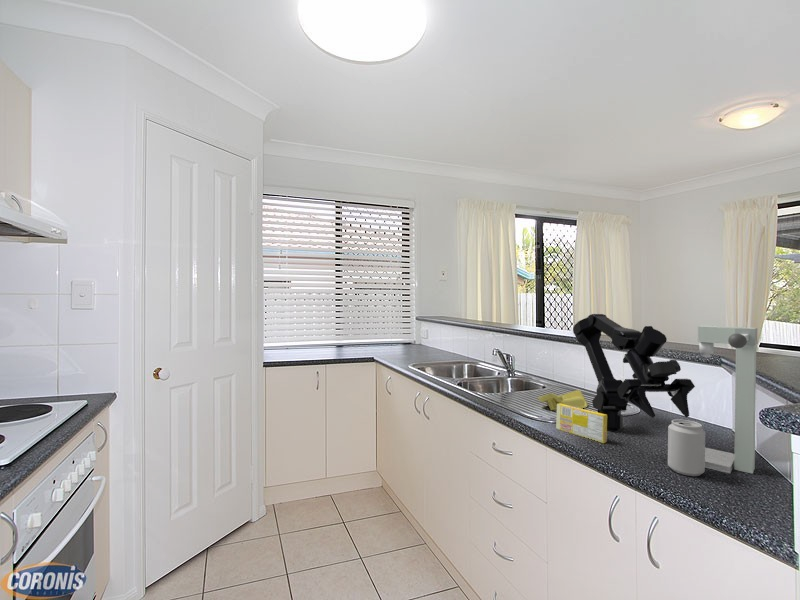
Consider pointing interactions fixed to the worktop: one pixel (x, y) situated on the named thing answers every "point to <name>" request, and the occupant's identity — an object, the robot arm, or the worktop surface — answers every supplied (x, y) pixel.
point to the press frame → (738, 385)
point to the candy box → (582, 422)
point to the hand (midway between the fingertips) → (670, 416)
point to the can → (686, 447)
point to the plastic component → (565, 399)
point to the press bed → (719, 460)
